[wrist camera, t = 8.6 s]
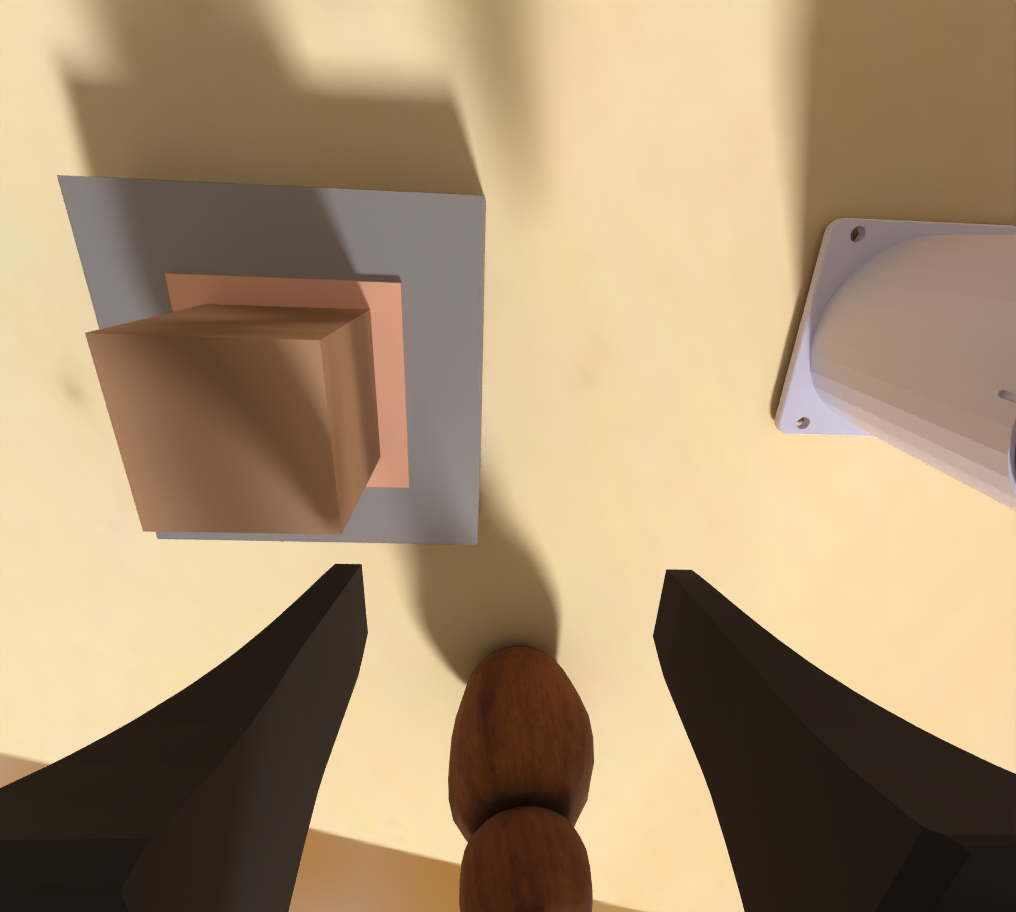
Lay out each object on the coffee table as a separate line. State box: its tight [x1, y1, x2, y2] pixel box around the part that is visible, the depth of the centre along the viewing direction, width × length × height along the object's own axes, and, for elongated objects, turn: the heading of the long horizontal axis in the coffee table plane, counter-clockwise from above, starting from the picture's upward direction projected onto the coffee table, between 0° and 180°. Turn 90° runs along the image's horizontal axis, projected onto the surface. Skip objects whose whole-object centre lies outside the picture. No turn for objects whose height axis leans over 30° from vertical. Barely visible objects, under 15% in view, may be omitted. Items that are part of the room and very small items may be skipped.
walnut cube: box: [85, 304, 381, 535], centre depth 14 cm, size 5×5×5 cm
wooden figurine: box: [448, 647, 594, 912], centre depth 19 cm, size 7×6×15 cm
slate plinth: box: [57, 175, 486, 545], centre depth 18 cm, size 12×12×3 cm
